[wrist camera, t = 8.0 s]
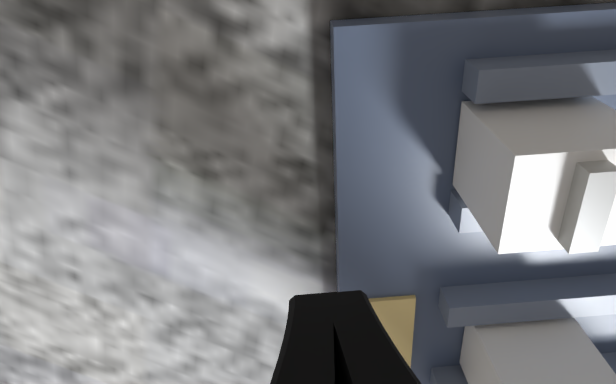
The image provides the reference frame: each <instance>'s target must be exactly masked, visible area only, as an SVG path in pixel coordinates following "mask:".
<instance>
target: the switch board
mask: <svg viewBox="0 0 616 384" xmlns="http://www.w3.org/2000/svg"><path fill="white" fill-rule="evenodd" d="M330 41H331V79H332V117H333V155H334V194H335V232H336V270H337V292H343V291H355V290H361V291H362V292H364V293H365V294H366V295H367V297H368V299H369V301H370V303H371V305H372V307H373V309H374V311H375V313H376V315H377V316H378V318H379V320H380V322H381V323H382V325H383V327H384V328H385V330H386V332H387V333H388V335H389V336H390V338H391V340H392V341H393V343H394V344H395V346H396V348H397V349H398V351H399V352H400V354H401V355H402V357H403V358H404V360H405V361H406V362H407V364H408V365H409V367H410V368H411V370H412V371H413V372H414V374H415V375H416V377H417V378H418V379H419V381H420V382H421V384H468V382H467V380H466V377H465V375H464V372H463V370H462V367H461V365H460V363H459V362H460V355H461V348H462V341H463V335H464V328H465V326H476V325H489V324H501V323H513V322H525V321H538V320H550V319H562V318H575V320H576V321H577V322H578V324H579V325H580V326H581V328H582V329H583V330H584V332H585V333H586V334H587V336H588V337H589V339H590V340H591V341H592V343H593V344H594V345H595V347H596V348H597V349H598V351H599V352H600V353H601V355H602V356H603V358H604V359H605V360H606V362H607V363H608V364H609V366H610V367H611V368H612V370H613V371H614V372H615V374H616V245H609V246H600V248H599V251H598V252H588V253H575V254H568V253H567V252H566V250H565V249H557V250H544V251H531V252H519V253H506V254H498V253H497V252H496V250H495V249H494V247H493V246H492V244H491V242H490V241H489V239H488V238H487V236H486V235H485V233H484V232H483V230H482V229H481V227H480V226H479V224H478V223H477V221H476V220H475V218H474V216H473V215H472V213H471V212H470V210H469V209H468V207H467V206H466V204H465V203H464V201H463V200H462V198H461V197H460V195H459V194H458V192H457V190H456V189H455V187H454V186H453V176H454V166H455V157H456V148H457V139H458V130H459V121H460V112H461V103H462V101H472V102H473V103H474V104H485V103H499V102H514V101H528V100H543V99H557V98H572V97H587V96H592V97H594V98H596V99H597V100H599V101H601V102H602V103H604V104H606V105H607V106H609V107H611V108H613V109H614V110H616V2H613V3H597V4H581V5H566V6H550V7H534V8H518V9H503V10H487V11H471V12H455V13H439V14H424V15H408V16H392V17H376V18H361V19H345V20H330Z"/></svg>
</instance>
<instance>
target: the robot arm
mask: <svg viewBox="0 0 616 384" xmlns="http://www.w3.org/2000/svg"><path fill="white" fill-rule="evenodd" d="M270 384H421V382H420V381H419V379H418V378H417V377H416V375H415V374H414V372H413V371H412V370H411V368H410V367H409V365H408V364H407V362H406V361H405V360H404V358H403V357H402V355H401V354H400V352H399V351H398V349H397V348H396V346H395V344H394V343H393V341H392V340H391V338H390V336H389V335H388V333H387V332H386V330H385V328H384V327H383V325H382V323H381V322H380V320H379V318H378V316H377V315H376V313H375V311H374V309H373V307H372V305H371V303H370V301H369V299H368V297H367V295H366V294H365V293H364V292H362V291H361V290H355V291H343V292H330V293H318V294H305V295H295V296H294V297H293V298H292V299H290V300H289V312H288V319H287V325H286V330H285V334H284V339H283V342H282V346H281V350H280V354H279V358H278V361H277V364H276V367H275V370H274V373H273V377H272V380H271V383H270Z"/></svg>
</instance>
